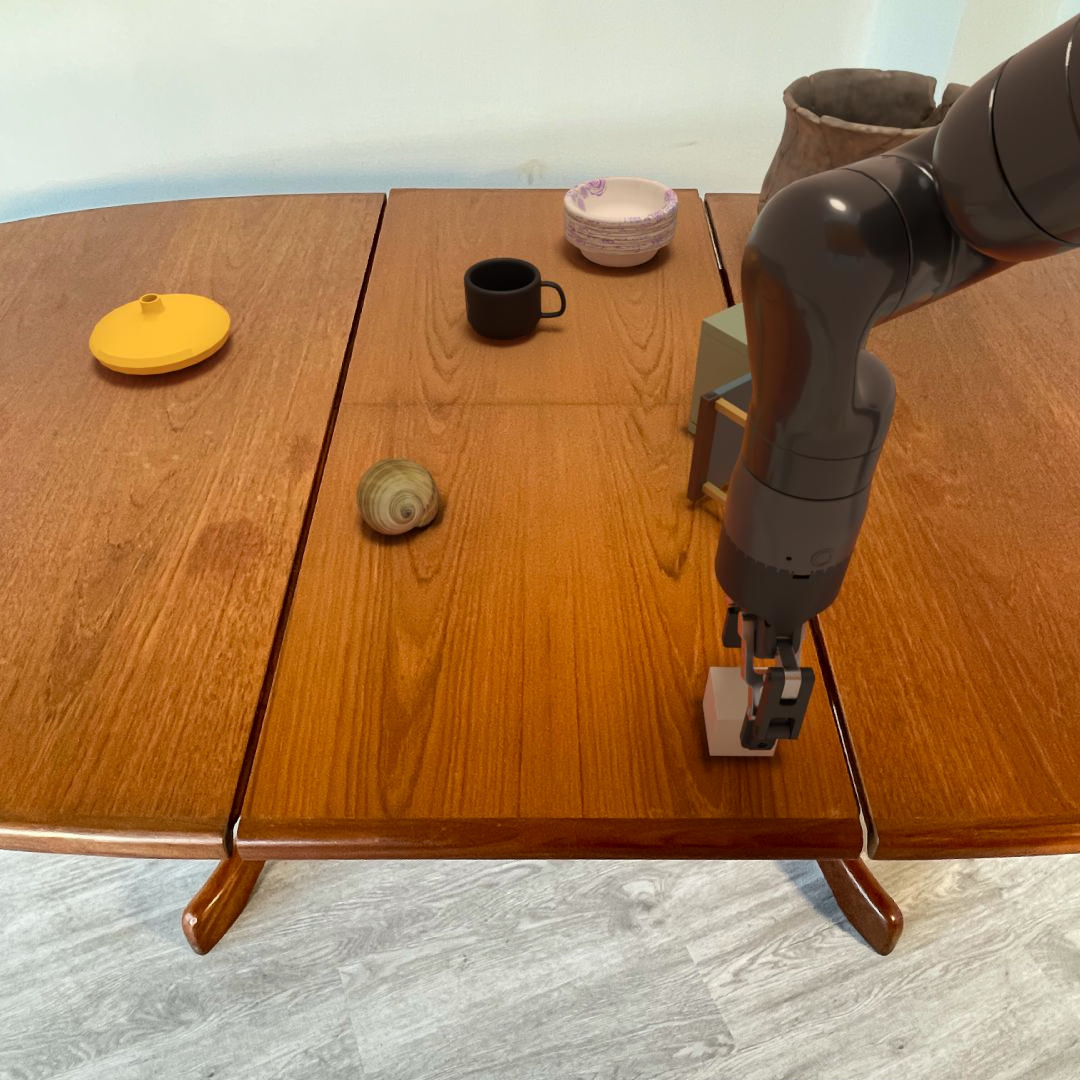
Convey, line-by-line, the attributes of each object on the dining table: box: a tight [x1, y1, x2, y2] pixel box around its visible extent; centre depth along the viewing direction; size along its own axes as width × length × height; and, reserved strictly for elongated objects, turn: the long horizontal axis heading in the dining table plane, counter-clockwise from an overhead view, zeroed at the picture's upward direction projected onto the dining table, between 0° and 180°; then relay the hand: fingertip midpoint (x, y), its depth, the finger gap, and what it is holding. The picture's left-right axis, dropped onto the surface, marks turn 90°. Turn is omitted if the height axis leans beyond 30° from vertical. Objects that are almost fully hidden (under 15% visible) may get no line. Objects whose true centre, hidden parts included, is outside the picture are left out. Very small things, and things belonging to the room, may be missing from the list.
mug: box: [463, 257, 567, 341], centre depth 104 cm, size 12×9×7 cm
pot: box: [756, 67, 971, 217], centre depth 110 cm, size 25×24×21 cm
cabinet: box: [687, 302, 871, 436], centre depth 88 cm, size 10×16×13 cm, turn 127°
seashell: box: [356, 457, 440, 536], centre depth 82 cm, size 10×7×8 cm
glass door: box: [686, 372, 753, 508], centre depth 79 cm, size 9×15×12 cm, turn 127°
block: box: [702, 666, 779, 757], centre depth 64 cm, size 5×5×5 cm
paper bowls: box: [562, 176, 679, 268], centre depth 118 cm, size 15×15×8 cm
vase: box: [88, 293, 232, 376], centre depth 102 cm, size 16×16×7 cm
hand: (745, 692), depth 61 cm, fingers open, 8 cm apart
